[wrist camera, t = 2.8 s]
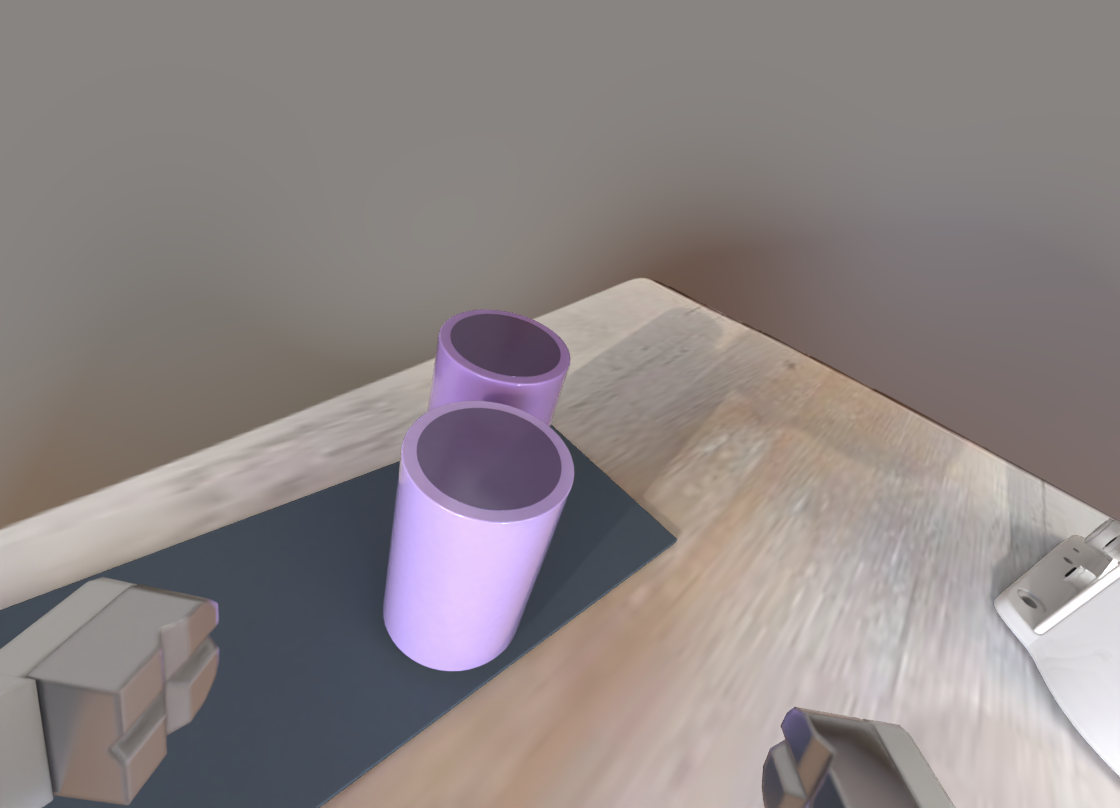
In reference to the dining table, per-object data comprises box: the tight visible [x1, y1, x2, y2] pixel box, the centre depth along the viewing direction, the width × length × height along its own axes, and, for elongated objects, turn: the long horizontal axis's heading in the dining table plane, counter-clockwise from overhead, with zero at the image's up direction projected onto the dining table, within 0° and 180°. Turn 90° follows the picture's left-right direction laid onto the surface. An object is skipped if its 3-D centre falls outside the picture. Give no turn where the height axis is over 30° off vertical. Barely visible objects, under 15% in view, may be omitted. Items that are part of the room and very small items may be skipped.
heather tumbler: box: [427, 310, 570, 427], centre depth 29 cm, size 6×6×10 cm
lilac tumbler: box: [383, 401, 574, 671], centre depth 23 cm, size 6×6×10 cm
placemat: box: [0, 425, 677, 808], centre depth 26 cm, size 31×13×1 cm, turn 133°
